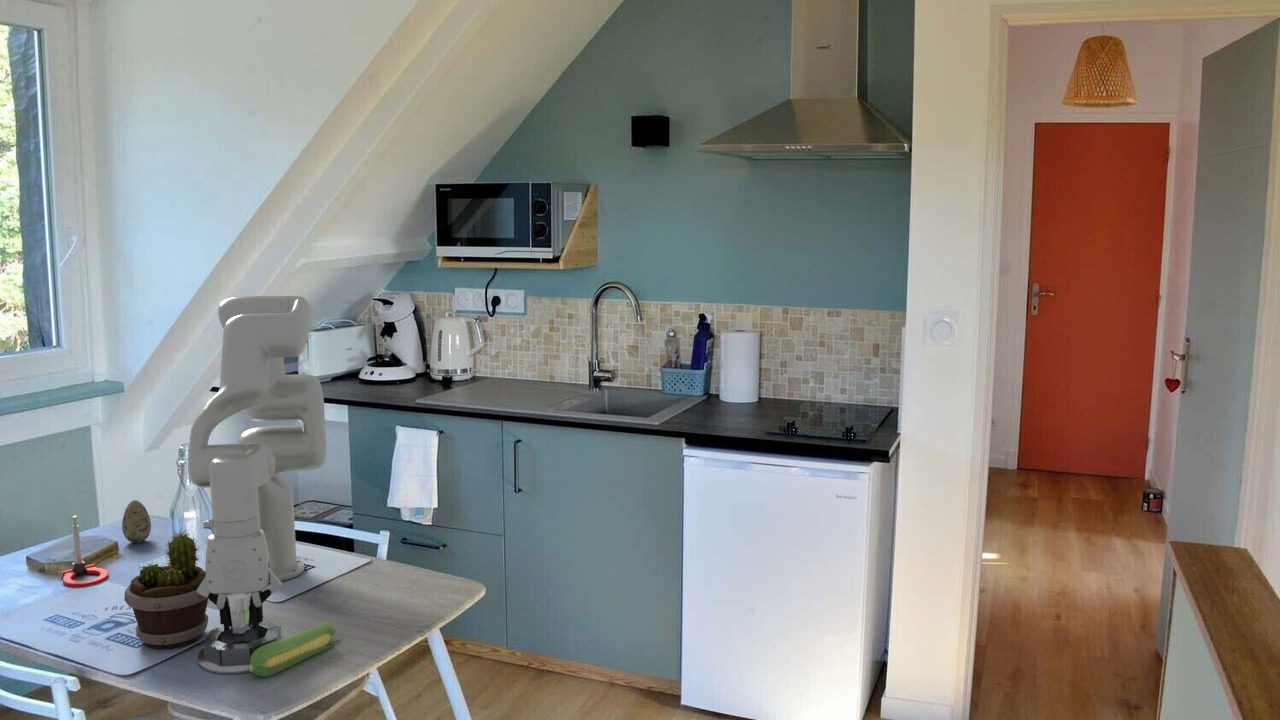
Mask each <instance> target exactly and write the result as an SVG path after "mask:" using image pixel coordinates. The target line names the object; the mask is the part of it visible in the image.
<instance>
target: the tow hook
mask: <svg viewBox="0 0 1280 720" xmlns="http://www.w3.org/2000/svg"><path fill="white" fill-rule="evenodd" d="M71 526H72V527H71V530H72V541H73V543H72V544H73V552H72V555H73V562H71V569H67V570H63V571H60V577H61V578H62V583H63V585H65V586H67V587H71V588H81V587H82V588H83V587H91V586H94V585H97V584H100V583H102V582H105V581H106V580H107V579H108V578H109V576H110V575H109V571H108V570H107V569H105V568H101V567H97V565H96V563H92V564H88V565H86V563H85V561H84V560H83V553H82V552H83V551H82V550H81V540H80V529H79V527H80V525H78V517H77V515H74V516H72V525H71ZM83 574H94V575H98V576H97V577H95V578H92V579H88V580H75V578H76V576H79V575H83Z"/></svg>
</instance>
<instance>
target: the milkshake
mask: <svg viewBox="0 0 1280 720" xmlns="http://www.w3.org/2000/svg"><path fill="white" fill-rule="evenodd" d="M226 599H227V605H228V611H229V619H230V626H231V634H232V638H233V639H234V640H245V639H248V638H250V637H251V636H252V612H251V608H252V607H253V598H252V594H251V593H237V594H226Z"/></svg>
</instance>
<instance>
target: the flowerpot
mask: <svg viewBox="0 0 1280 720" xmlns="http://www.w3.org/2000/svg"><path fill="white" fill-rule="evenodd" d="M182 530H183V528H182V527H181V528H180V529H178V531H177V532H175V531H173V532H172V533H173V534H175V535H172V536H170V539H168V541H167V543H166V545H164V547H165V546H166V547H167V549H166V552H165V557H167V558H168V559H166V563H162V565H161V566H160V565H158V563H159V562H157V563H154V562H153V559H152V558H151V560H150V561H151V563H145V564H142V568H140V567H141V566H140V565H139V567H138V569H139V575H137V576H135V577H134V578H132V579H131V581H130V584H129V585H128V586H127V588H126V589H125V590H124V599H123V601H124V602H125V603H126V604H127V606H129V607H130V608H132V611H133V615H134V619H135V621H136V623H137V625H136V626H135V632H136V634H135V637H136V638H138V639H139V641H141V642H143V644H144V646H146V647H147V648H153V649H156V650H159V649H160V650H161V649H164V648H165V647H169V648H170V649H176V648H179V647H180V646H182V647H184V646H187V645H190V644H192V643H194V642H196V641H199V640H200V639H201V637H202V636H203V633H204V632H206V629H207V627H208V623H209V616H208V614H207V613H206V612H207V608H208V603H209V599H208V598H207V597H205V596H203V595H201V594H199V593H198V592H197V589H198V587H199V586H200V584H201V583H202V581H203V580H204V578H205V576H206V570H204V569H203V568H202V567H201V566H199V564H198V563H199V562H200V560H201V559H202V557H201V558H200V555H199V552H200V547H201V546H199V545H198V546H197V543H198V540H197V539H199V537H195V538H194V535H193V536H192V537H191V533H189V532H187V531H188V530H187V529H184V530H183V531H182ZM153 563H154V564H153ZM145 565H147V566H145Z"/></svg>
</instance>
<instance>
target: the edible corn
mask: <svg viewBox="0 0 1280 720" xmlns="http://www.w3.org/2000/svg"><path fill="white" fill-rule="evenodd" d="M336 624H337V620H330V621H327V622H325V623H322V624H319V625H317V626H314V627H312V628H309V629H307V630H304V631H301V632H298V633H296V634H293V635H290V636H287V637H284V639H281V640H278V641H275V642H272V643H269V644H266V645H263V646H261V647H260V648H258V649H256V650H255V651H254V653H253V654H252V655H251V657H250V660H249V664H250V665H249V668H248V669H249V671H250V672H249V673H252V674H253V675H255V676H259V677H261V678H268V677H271V676H274V675H276V674H278V673H280V672H282V671H285V670H287V669H289V668H290V667H292V666H295V665H297V664H298V663H301V662H303V661H305V660H308V659H309V658H312V657H313V656H315V655H317V654H319V653H322V652H324V651H326V650H329V649H330V648H333V647H334V645H332V644H331V643H332V642H334V641H335V639H333V638H332V637H334V635H335V634H336V632H337V629H334V628H333V627H334V626H335V625H336ZM328 644H330V645H328Z"/></svg>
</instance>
